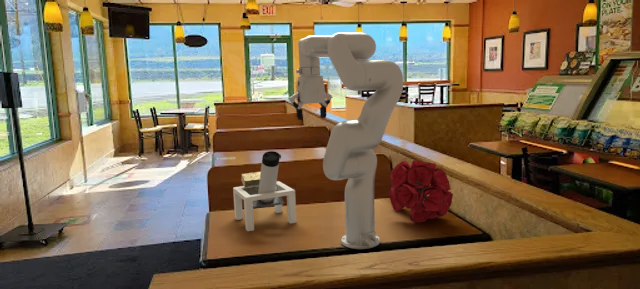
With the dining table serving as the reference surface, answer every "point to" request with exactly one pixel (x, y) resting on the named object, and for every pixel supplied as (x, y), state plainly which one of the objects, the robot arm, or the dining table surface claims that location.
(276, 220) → the dining table surface
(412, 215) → the bouquet
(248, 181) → the trapdoor
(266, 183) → the travel mug
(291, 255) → the dining table surface
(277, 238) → the dining table surface
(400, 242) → the dining table surface
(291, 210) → the stand
